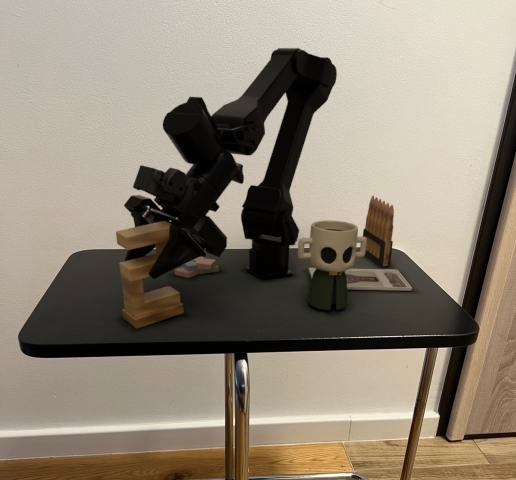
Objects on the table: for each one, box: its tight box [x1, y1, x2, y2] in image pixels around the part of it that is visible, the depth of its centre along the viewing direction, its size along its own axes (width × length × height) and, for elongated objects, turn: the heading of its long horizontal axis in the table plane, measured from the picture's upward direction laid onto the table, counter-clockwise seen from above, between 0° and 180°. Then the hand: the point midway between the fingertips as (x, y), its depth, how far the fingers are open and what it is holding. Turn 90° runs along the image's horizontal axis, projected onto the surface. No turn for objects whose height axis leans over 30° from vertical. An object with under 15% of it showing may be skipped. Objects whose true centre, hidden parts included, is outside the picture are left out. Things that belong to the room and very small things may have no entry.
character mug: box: [297, 219, 367, 311], centre depth 84 cm, size 11×7×13 cm, turn 101°
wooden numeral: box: [115, 221, 185, 330], centre depth 77 cm, size 8×4×13 cm, turn 130°
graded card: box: [308, 267, 413, 292], centre depth 98 cm, size 10×1×17 cm
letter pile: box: [174, 257, 220, 279], centre depth 100 cm, size 8×6×2 cm
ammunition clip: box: [362, 195, 395, 268], centre depth 108 cm, size 11×2×12 cm, turn 13°
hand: (138, 270), depth 76 cm, fingers closed on wooden numeral, 6 cm apart
